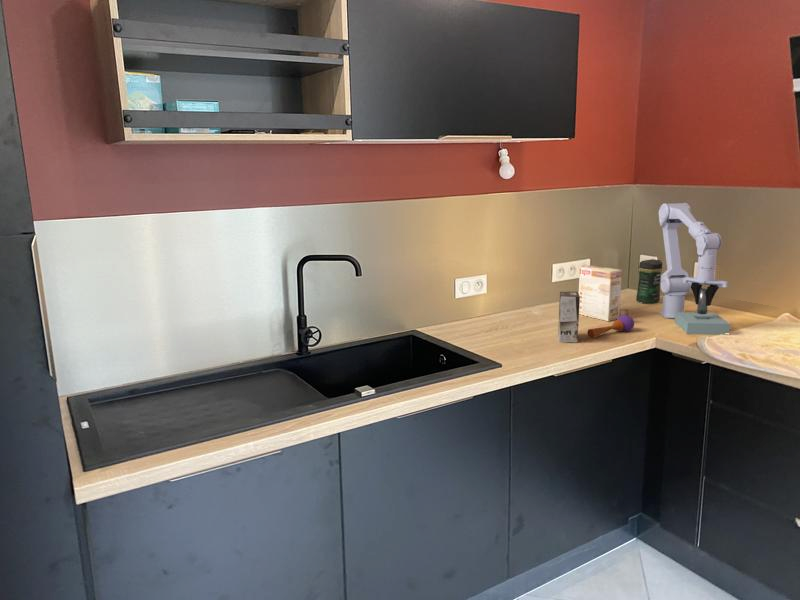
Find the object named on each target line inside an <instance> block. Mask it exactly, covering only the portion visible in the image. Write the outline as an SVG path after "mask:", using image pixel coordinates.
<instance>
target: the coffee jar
mask: <svg viewBox="0 0 800 600" xmlns="http://www.w3.org/2000/svg"><path fill="white" fill-rule="evenodd" d="M662 271H663V262H662V261H661V260H659V259H654V258H651V259H647V260H641V261H640V262H639V265H638V274H639V275H638V284H637V291H636V298H635V299H636V300H635V301H636V302H637V303H640V302H642V303H641V304H648V303H652V304H656V303H659V302H660V300H661V299H660V298H661V275H662Z"/></svg>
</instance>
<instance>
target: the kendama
mask: <svg viewBox="0 0 800 600" xmlns="http://www.w3.org/2000/svg"><path fill="white" fill-rule="evenodd" d="M634 327H635V320H634V318H633V317H632V316H630V315H628V316H627V315H623V316H620V317H619V318H618V319H617V320H614V322H613V323H612V324H611V325H609V326H604V327H601V326H600V327H596V328H588V330H587V336H588V338H591V339H594V338H596V337H599V336H601V335H603V334H605V333H606V332H609V331H611V330H613V331H618V332H631V330H633V329H634Z"/></svg>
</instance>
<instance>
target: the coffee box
mask: <svg viewBox="0 0 800 600" xmlns="http://www.w3.org/2000/svg"><path fill="white" fill-rule="evenodd" d="M558 300H559V301H558V303H559V304H558V326H557V327H558V330H557V331H558V332H557V333H558V334H557V337H558V342H559V343H578V341H579V338H578V336H579V319H580V315H579V304H580V296H579V291H559V298H558Z"/></svg>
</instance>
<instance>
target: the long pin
mask: <svg viewBox="0 0 800 600" xmlns="http://www.w3.org/2000/svg"><path fill="white" fill-rule="evenodd" d="M707 297H708V292H707V287H702V288H699V296H698V304H697V309H696V313H698V314H707V313H708V306H707Z"/></svg>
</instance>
